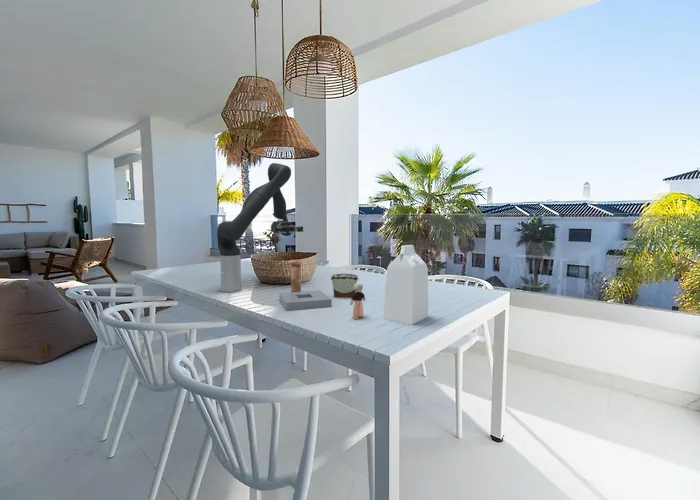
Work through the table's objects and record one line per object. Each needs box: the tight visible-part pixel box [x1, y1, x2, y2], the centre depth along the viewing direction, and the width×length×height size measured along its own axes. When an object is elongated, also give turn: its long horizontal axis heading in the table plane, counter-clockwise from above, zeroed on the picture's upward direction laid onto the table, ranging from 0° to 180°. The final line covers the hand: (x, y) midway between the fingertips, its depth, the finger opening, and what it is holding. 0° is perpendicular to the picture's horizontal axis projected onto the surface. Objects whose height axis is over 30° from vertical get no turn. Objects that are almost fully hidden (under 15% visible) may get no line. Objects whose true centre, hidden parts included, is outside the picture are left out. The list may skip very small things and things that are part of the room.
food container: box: [330, 273, 359, 299], centre depth 158 cm, size 12×6×10 cm, turn 84°
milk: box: [383, 244, 429, 325], centre depth 125 cm, size 12×12×26 cm
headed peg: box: [289, 259, 303, 292], centre depth 162 cm, size 6×6×16 cm
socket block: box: [278, 289, 333, 311], centre depth 146 cm, size 18×18×3 cm
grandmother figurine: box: [349, 281, 366, 320], centre depth 126 cm, size 8×4×13 cm, turn 148°
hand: (290, 229), depth 171 cm, fingers open, 8 cm apart
